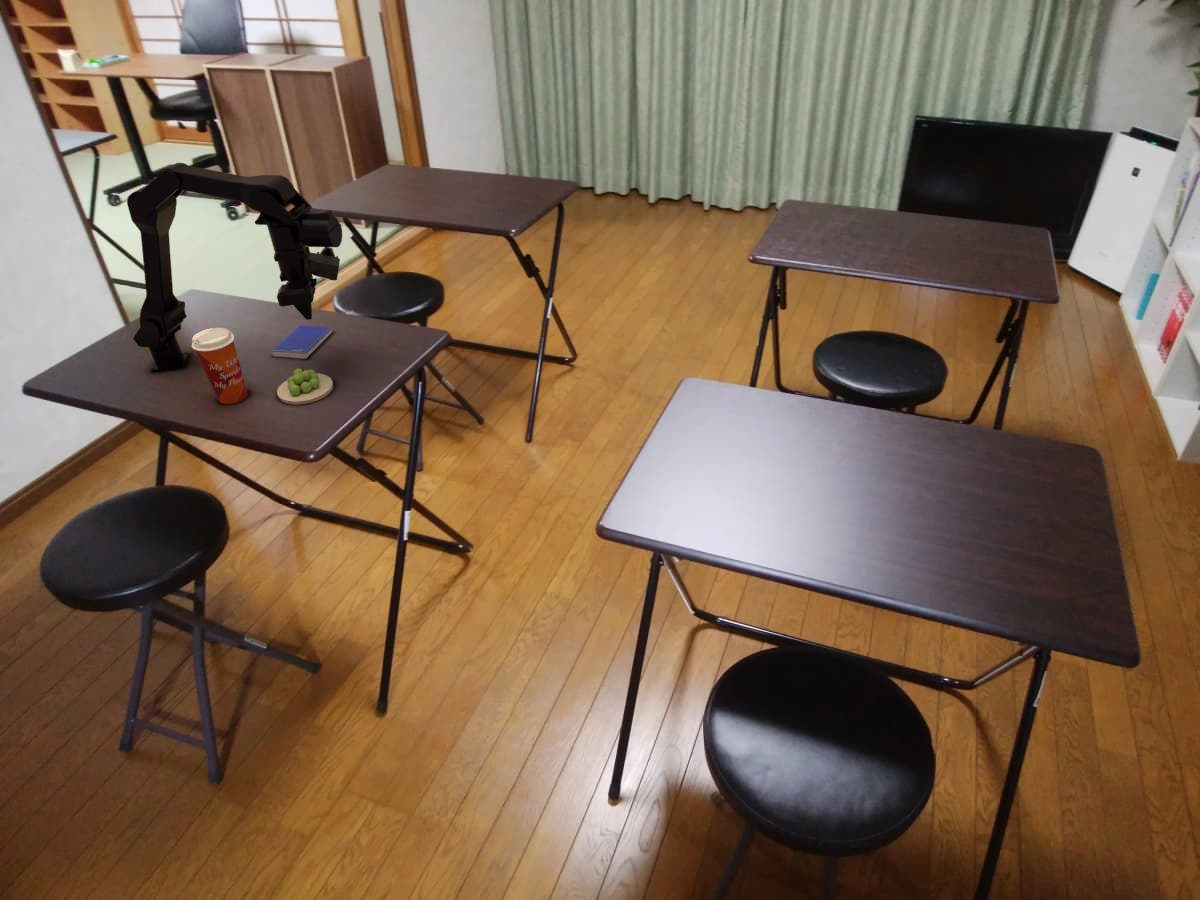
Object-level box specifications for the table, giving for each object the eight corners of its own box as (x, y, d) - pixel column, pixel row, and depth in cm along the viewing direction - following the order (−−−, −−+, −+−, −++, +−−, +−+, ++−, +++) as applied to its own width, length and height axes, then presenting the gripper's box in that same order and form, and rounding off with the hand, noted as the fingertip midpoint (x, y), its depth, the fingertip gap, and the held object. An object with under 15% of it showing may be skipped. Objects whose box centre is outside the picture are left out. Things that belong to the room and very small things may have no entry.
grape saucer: (280, 380, 160) (279, 377, 159) (334, 373, 162) (333, 370, 161) (275, 408, 151) (274, 404, 151) (332, 400, 153) (331, 396, 153)
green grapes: (290, 379, 158) (284, 359, 155) (321, 375, 159) (315, 355, 157) (287, 398, 152) (280, 377, 150) (319, 393, 154) (313, 372, 151)
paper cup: (226, 411, 151) (202, 348, 142) (205, 399, 154) (181, 337, 146) (261, 394, 156) (240, 332, 147) (240, 382, 159) (218, 322, 151)
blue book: (305, 352, 166) (331, 326, 176) (270, 350, 167) (298, 324, 177) (306, 358, 167) (332, 333, 177) (272, 356, 168) (300, 330, 178)
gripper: (329, 258, 141) (348, 334, 150) (334, 224, 156) (350, 295, 165) (266, 265, 139) (289, 341, 148) (277, 230, 154) (297, 301, 163)
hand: (309, 318), depth 156 cm, fingers closed
